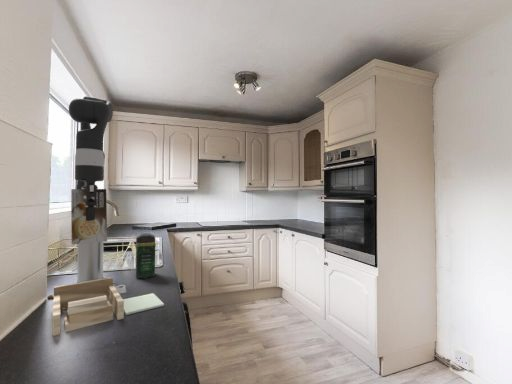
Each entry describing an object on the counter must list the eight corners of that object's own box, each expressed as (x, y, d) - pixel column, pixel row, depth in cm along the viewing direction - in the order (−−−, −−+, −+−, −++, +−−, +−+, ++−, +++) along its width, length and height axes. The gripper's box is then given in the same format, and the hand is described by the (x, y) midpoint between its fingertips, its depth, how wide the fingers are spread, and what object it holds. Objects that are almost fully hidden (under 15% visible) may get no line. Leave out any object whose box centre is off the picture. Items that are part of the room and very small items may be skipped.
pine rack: (53, 309, 82) (53, 286, 82) (112, 297, 92) (112, 277, 92) (52, 336, 66) (52, 307, 66) (123, 318, 76) (123, 293, 76)
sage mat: (118, 302, 87) (118, 300, 87) (153, 294, 94) (153, 293, 94) (126, 315, 78) (126, 312, 78) (164, 305, 84) (164, 303, 84)
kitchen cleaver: (41, 304, 85) (50, 292, 94) (41, 307, 85) (50, 295, 94) (126, 293, 95) (127, 283, 104) (126, 296, 95) (127, 286, 104)
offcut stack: (64, 325, 72) (64, 302, 72) (109, 313, 79) (109, 293, 79) (65, 333, 68) (65, 309, 68) (113, 320, 75) (113, 299, 75)
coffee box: (105, 239, 86) (106, 189, 87) (107, 241, 81) (107, 188, 81) (71, 241, 81) (71, 189, 82) (70, 244, 76) (70, 188, 76)
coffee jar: (155, 277, 114) (155, 234, 115) (135, 280, 111) (135, 235, 112) (154, 272, 123) (154, 231, 124) (136, 274, 120) (136, 232, 121)
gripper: (107, 163, 78) (106, 220, 78) (101, 168, 90) (100, 217, 89) (76, 161, 74) (75, 222, 73) (74, 166, 85) (73, 219, 85)
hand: (89, 219), depth 81 cm, fingers closed on coffee box, 6 cm apart
